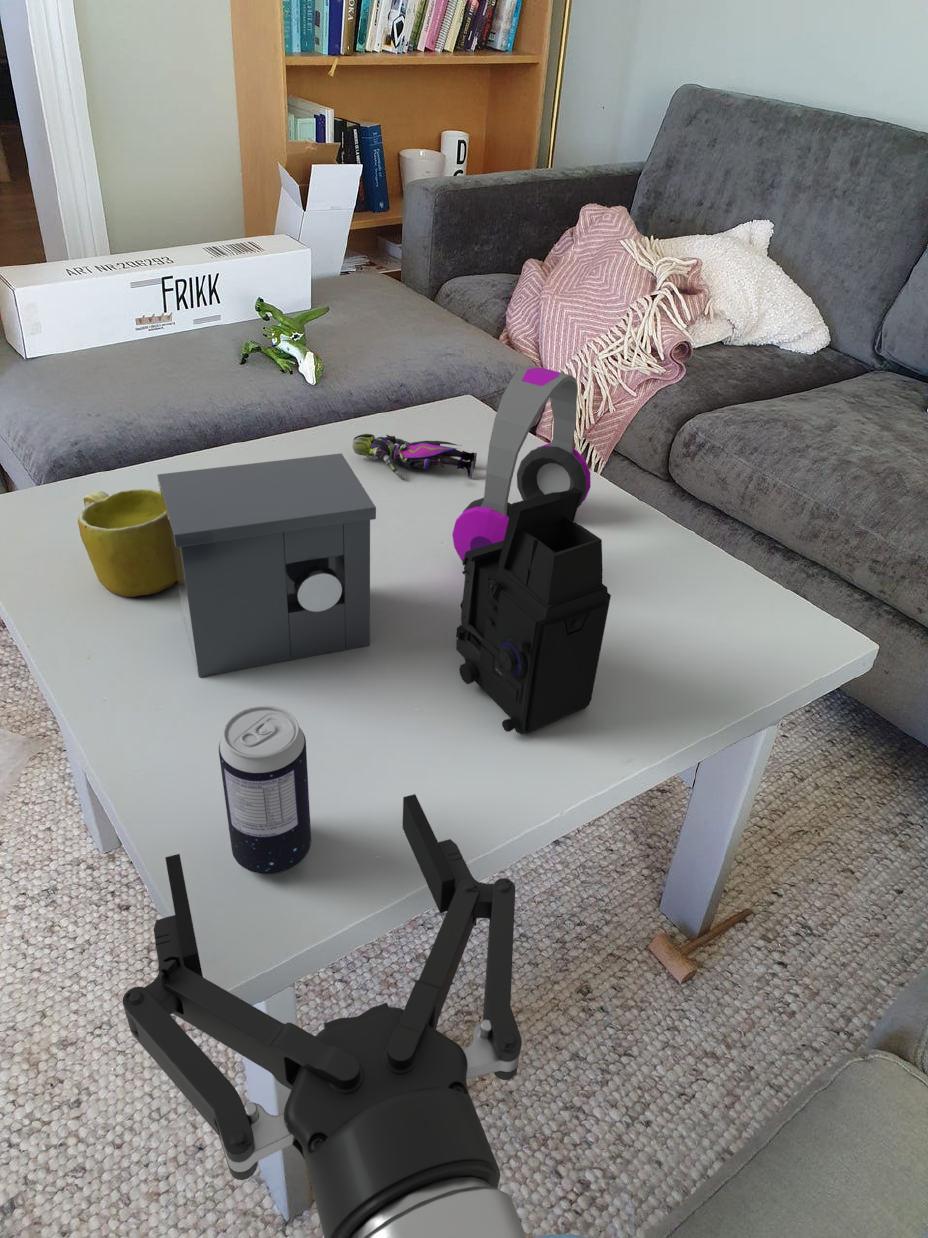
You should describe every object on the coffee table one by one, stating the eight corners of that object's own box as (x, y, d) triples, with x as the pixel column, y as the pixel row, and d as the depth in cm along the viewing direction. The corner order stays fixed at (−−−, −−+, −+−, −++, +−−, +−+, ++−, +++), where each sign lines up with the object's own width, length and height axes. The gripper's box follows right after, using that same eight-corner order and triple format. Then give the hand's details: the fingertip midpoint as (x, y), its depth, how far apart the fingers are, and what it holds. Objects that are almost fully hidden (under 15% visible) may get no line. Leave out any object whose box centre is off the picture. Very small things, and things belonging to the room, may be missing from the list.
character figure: (478, 460, 122) (360, 440, 123) (481, 434, 120) (361, 414, 120) (467, 492, 114) (342, 471, 115) (471, 465, 112) (343, 444, 113)
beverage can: (327, 850, 67) (322, 730, 60) (266, 896, 64) (253, 774, 57) (278, 809, 70) (268, 690, 63) (216, 851, 67) (198, 730, 60)
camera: (514, 629, 91) (535, 443, 79) (603, 708, 82) (642, 512, 70) (429, 660, 86) (438, 467, 74) (513, 747, 77) (540, 544, 66)
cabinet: (194, 681, 82) (173, 534, 73) (177, 613, 90) (157, 474, 81) (375, 647, 87) (376, 507, 78) (344, 586, 95) (341, 452, 86)
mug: (221, 568, 93) (173, 486, 87) (132, 625, 90) (75, 543, 84) (181, 535, 102) (135, 458, 96) (99, 585, 99) (46, 509, 93)
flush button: (298, 615, 81) (296, 577, 78) (294, 606, 82) (292, 569, 79) (342, 607, 82) (341, 570, 80) (338, 599, 83) (337, 562, 81)
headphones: (516, 596, 96) (538, 417, 84) (443, 570, 99) (454, 394, 87) (590, 514, 111) (617, 353, 99) (525, 494, 114) (543, 336, 102)
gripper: (112, 1398, 35) (78, 942, 51) (666, 1156, 43) (490, 829, 59) (74, 1329, 31) (50, 853, 46) (699, 1075, 39) (499, 745, 55)
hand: (296, 839), depth 53 cm, fingers open, 13 cm apart
